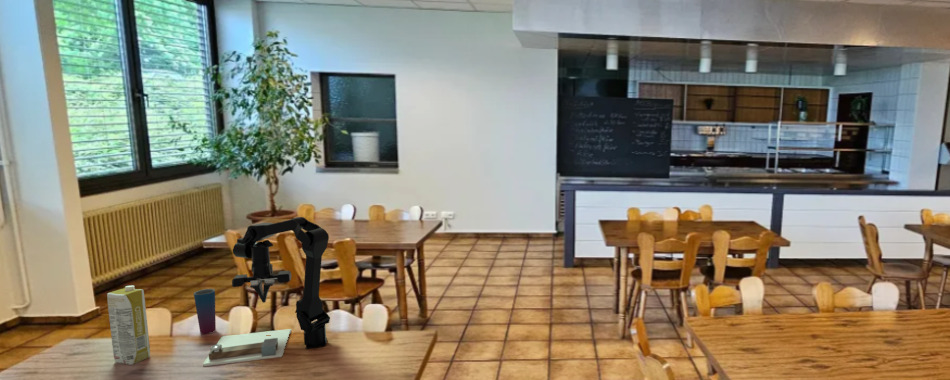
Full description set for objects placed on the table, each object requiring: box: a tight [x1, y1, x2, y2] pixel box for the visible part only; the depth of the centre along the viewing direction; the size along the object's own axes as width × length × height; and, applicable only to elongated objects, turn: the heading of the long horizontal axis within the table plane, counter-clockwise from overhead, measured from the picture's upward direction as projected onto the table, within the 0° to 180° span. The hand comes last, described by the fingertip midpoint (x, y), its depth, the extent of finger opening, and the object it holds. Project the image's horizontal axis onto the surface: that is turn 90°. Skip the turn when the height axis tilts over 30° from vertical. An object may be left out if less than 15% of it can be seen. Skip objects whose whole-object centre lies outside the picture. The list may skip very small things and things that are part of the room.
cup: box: [193, 288, 217, 335], centre depth 180 cm, size 7×7×15 cm
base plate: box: [202, 328, 292, 367], centre depth 166 cm, size 23×22×4 cm
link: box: [208, 341, 278, 360], centre depth 159 cm, size 20×4×2 cm, turn 107°
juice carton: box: [106, 285, 151, 366], centre depth 158 cm, size 9×8×24 cm
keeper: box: [261, 338, 278, 357], centre depth 160 cm, size 4×6×3 cm, turn 13°
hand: (264, 302), depth 175 cm, fingers closed
